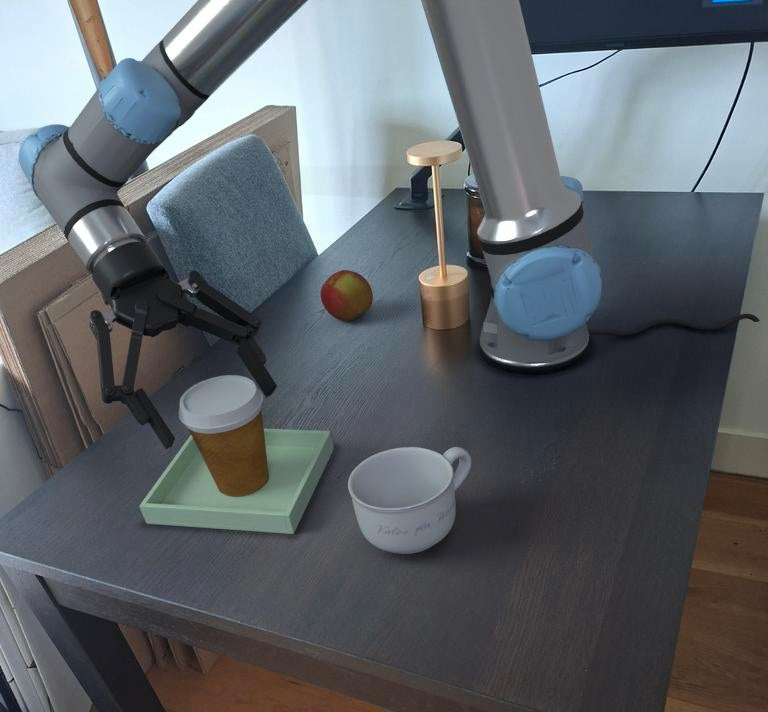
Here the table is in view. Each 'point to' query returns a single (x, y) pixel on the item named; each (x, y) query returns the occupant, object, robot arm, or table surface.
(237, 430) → the disposable coffee cup
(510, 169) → the robot arm
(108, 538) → the table surface
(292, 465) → the tray
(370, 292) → the apple
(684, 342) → the table surface
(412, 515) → the teacup
